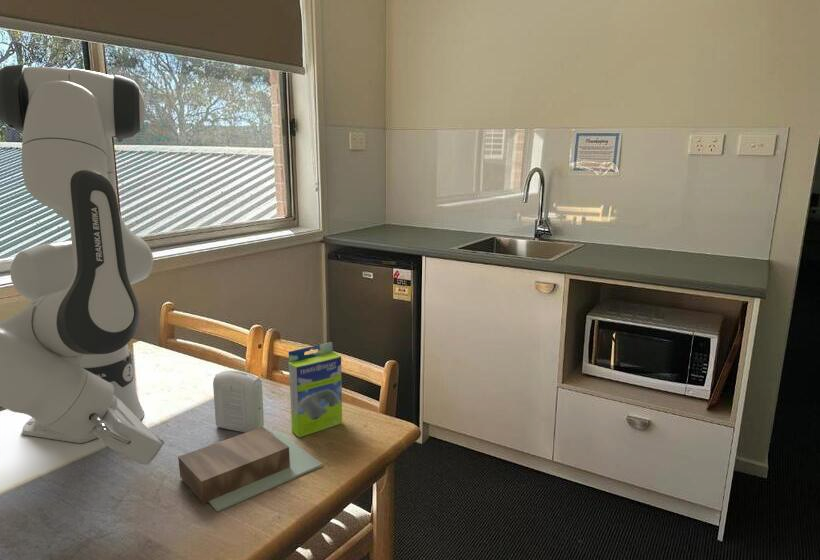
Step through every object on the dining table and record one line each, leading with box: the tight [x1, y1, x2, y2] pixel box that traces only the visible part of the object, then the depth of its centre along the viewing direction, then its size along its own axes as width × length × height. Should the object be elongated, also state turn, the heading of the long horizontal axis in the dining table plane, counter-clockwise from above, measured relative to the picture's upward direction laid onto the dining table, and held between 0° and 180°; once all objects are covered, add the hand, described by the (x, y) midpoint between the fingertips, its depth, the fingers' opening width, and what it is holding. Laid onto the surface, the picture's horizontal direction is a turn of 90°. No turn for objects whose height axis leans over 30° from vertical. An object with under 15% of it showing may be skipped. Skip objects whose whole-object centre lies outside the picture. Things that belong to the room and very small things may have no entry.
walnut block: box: [177, 426, 290, 504], centre depth 100 cm, size 4×10×16 cm
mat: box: [208, 431, 323, 513], centre depth 102 cm, size 20×16×1 cm
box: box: [287, 341, 343, 438], centre depth 116 cm, size 10×4×17 cm, turn 128°
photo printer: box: [212, 370, 265, 433], centre depth 116 cm, size 10×4×12 cm, turn 72°
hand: (158, 443), depth 90 cm, fingers closed
